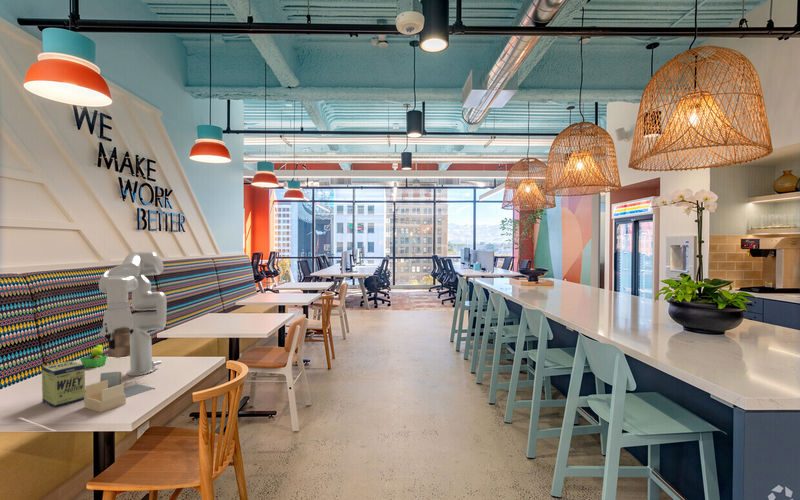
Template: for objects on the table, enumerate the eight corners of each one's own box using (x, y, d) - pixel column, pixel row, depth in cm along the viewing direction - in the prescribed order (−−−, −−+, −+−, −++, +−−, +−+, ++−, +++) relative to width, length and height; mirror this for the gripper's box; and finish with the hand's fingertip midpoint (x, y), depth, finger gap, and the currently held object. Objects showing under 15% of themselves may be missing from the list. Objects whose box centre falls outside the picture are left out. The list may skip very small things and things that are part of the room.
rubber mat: (137, 385, 187) (136, 383, 187) (154, 389, 181) (154, 388, 181) (104, 395, 174) (104, 393, 174) (122, 400, 168) (122, 398, 168)
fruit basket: (78, 367, 218) (78, 347, 218) (93, 362, 227) (93, 343, 227) (96, 368, 216) (95, 347, 216) (110, 363, 225) (110, 344, 225)
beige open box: (109, 400, 168) (108, 379, 168) (125, 404, 163) (125, 383, 163) (84, 408, 160) (83, 386, 160) (100, 413, 154) (100, 390, 154)
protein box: (55, 409, 160) (54, 371, 160) (41, 401, 168) (40, 365, 168) (86, 400, 169) (85, 364, 169) (71, 393, 177) (71, 359, 177)
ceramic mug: (121, 388, 183) (121, 371, 183) (99, 392, 178) (99, 375, 178) (121, 382, 191) (121, 367, 192) (100, 386, 187) (100, 370, 187)
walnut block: (121, 352, 175) (120, 326, 174) (130, 354, 172) (129, 327, 171) (108, 356, 170) (107, 328, 170) (117, 358, 167) (116, 330, 167)
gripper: (133, 302, 180) (134, 341, 180) (90, 308, 165) (92, 351, 165) (143, 303, 176) (144, 343, 177) (100, 309, 161) (101, 353, 162)
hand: (119, 346), depth 171 cm, fingers closed on walnut block, 5 cm apart
